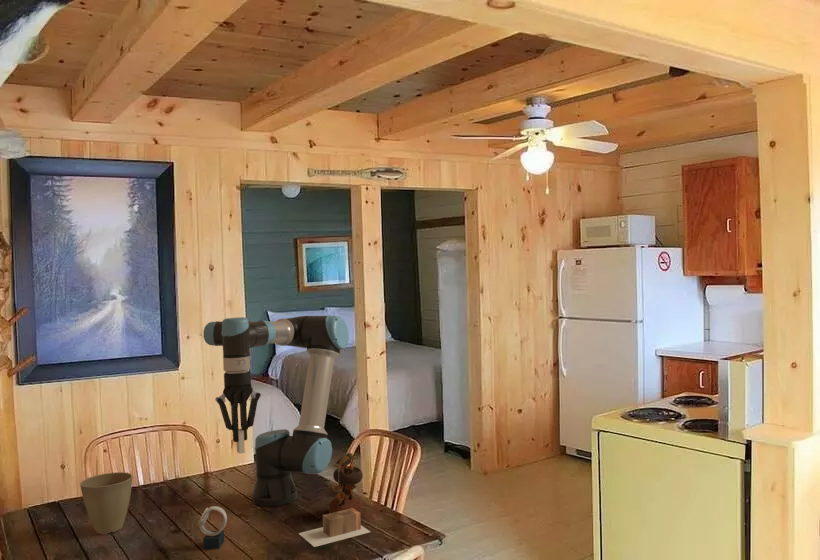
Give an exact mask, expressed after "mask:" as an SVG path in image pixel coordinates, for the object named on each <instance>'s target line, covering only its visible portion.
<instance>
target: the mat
mask: <svg viewBox="0 0 820 560" xmlns="http://www.w3.org/2000/svg"><path fill="white" fill-rule="evenodd" d="M369 533H371V531H370V530H368V529H367V528H366V527H365V526H363V525H362V524H361V529H360V530H356V531H353V532H349V533H345V534H341V535H337V536H334V537H329V536H328V535H327V534H325V533H324V532H323V526H322V527H319V528H315V529H310V530H306V531H302V532H299V533H298V534H299V536H300V537H302V538H303V539H304V540H305V541H306V542H308V543H309V544H311V546H312V547H314V548H316V547H319V546H320V547H321V546H324V545H327V544H330V543H332V544H333V543H334V542H340V541H343V540H347V539H350V538H353V537H357V536H362V535H364V534H369Z"/></svg>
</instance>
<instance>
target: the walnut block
mask: <svg viewBox="0 0 820 560" xmlns="http://www.w3.org/2000/svg"><path fill="white" fill-rule="evenodd" d="M361 521H362V520H361V516H360V512H358V511H357V510H355V509H354V508H350V509H346V510H342V511H338V512H334V513H330V514H329V513H327V514H326V513H325V514H322V527H323V532H324V533H325V534H327V535H328V536H329V537H334V536H337V535H341V534H345V533H349V532H353V531H356V530H360V529H361V525H362V523H361Z"/></svg>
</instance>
